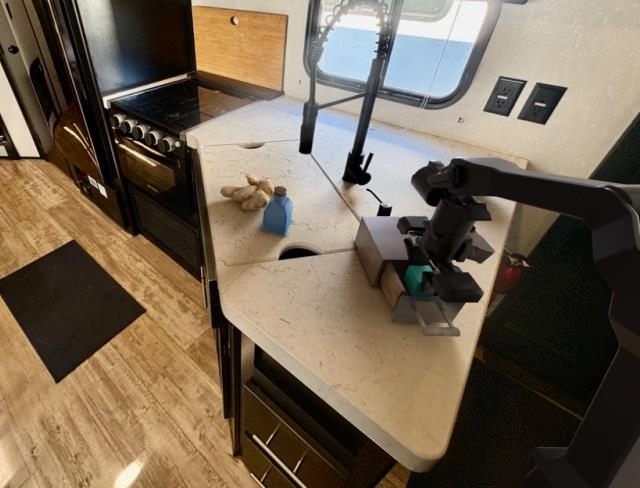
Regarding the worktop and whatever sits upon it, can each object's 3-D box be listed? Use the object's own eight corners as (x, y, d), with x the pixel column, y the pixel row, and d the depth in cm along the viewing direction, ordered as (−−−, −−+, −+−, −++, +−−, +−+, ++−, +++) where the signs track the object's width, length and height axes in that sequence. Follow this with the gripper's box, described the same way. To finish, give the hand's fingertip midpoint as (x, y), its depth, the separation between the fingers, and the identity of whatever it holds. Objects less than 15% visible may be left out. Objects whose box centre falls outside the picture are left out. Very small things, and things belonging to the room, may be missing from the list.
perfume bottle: (262, 229, 83) (264, 193, 76) (269, 215, 87) (272, 180, 81) (284, 236, 81) (289, 199, 74) (290, 221, 86) (295, 185, 79)
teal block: (432, 295, 60) (440, 282, 58) (411, 295, 60) (418, 282, 58) (422, 278, 63) (429, 265, 61) (403, 278, 63) (409, 265, 61)
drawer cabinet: (429, 286, 68) (444, 259, 63) (372, 286, 68) (382, 259, 63) (403, 242, 79) (414, 216, 74) (354, 241, 79) (361, 216, 74)
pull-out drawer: (466, 347, 56) (483, 326, 52) (403, 347, 56) (415, 326, 52) (421, 271, 70) (432, 250, 66) (371, 271, 70) (378, 250, 66)
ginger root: (294, 199, 92) (291, 179, 86) (253, 230, 86) (247, 210, 81) (260, 177, 102) (255, 158, 97) (221, 204, 97) (215, 185, 91)
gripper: (541, 268, 45) (491, 328, 53) (465, 192, 60) (435, 249, 69) (464, 267, 45) (426, 328, 54) (407, 192, 60) (385, 249, 69)
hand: (419, 283), depth 61 cm, fingers closed on teal block, 4 cm apart
